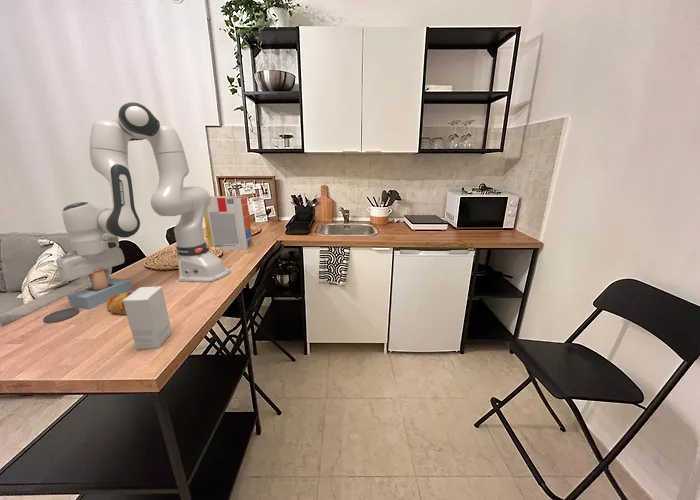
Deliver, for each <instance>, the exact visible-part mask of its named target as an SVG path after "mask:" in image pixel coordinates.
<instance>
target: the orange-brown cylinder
mask: <svg viewBox="0 0 700 500" xmlns="http://www.w3.org/2000/svg"><path fill="white" fill-rule="evenodd" d="M93 271H94V273H93V274H90V275H88V280H89V281H93V284H94V285H93V286H92V288H93V291H96V292H97V291H100V290H103V289H105V288H108V287H109V284H108V281H107V278H106V270H104V267H102V268H99V269H96V270H93Z"/></svg>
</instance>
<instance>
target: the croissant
mask: <svg viewBox="0 0 700 500" xmlns="http://www.w3.org/2000/svg"><path fill="white" fill-rule="evenodd" d="M133 292H135V290H133V291H131V292H127V293H123V294H118V295H115V296H112V297H110V298H108V300H107V302H106V307H107V309H108V310H109V311H110V312H111V314H118V315H127V314H126V310H125V307H124V303H123V300H124V299H125V298H127V297H128V296H129V295H131V294H132V293H133Z"/></svg>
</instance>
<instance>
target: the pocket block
mask: <svg viewBox="0 0 700 500" xmlns="http://www.w3.org/2000/svg"><path fill="white" fill-rule="evenodd" d="M107 281H108V284H109V287H108V288H105V289H103V290H100V291H97V292H96V291H93V288H92V286H91V287H87V286H86V287H84V288H82V289H78V290H76V291H73V292H71V293H68V294H66V296H67V299H68V302H69V305H70V307H74V308H81V309H86V310H91V309H94V308H96V307H99V306H101V305H103V304H105V303H107V300H108V298H110V297H112V296H115V295H118V294H123V293H127V292H132V291H134V289H133V285H132V282H131V281H132V280H129V279H121V278H117V277H111V279H109V280H107Z"/></svg>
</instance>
